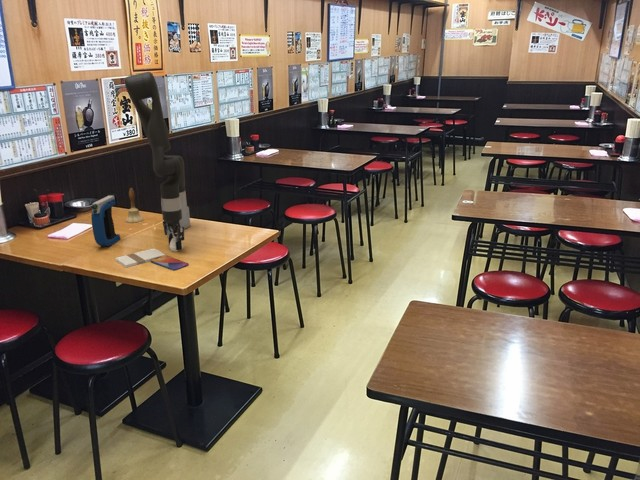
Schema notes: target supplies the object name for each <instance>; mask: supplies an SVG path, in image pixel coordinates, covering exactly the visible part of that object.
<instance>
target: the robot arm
mask: <svg viewBox="0 0 640 480" xmlns="http://www.w3.org/2000/svg"><path fill="white" fill-rule="evenodd" d="M124 78H125V79H124V85H125V89H126V91H127V94H128V96H129V99H130V100H131V102H132V104H133V107H134V108H135V111H136V112H137V115H138V118H139V120H140V123H141V126H142V129H143V132H144V134H145V137H146V138H147V139H146V140H147V141H148V143H149V146H150V148H151V150H152V151H151V152H152V170H153V172H154V174H155V175H156V176H157V177H159V178H166V177H167V179H166V180H165V181H163V182H162V183H161V184H160V186H159V188H160V205H161V216H162V225H163V232H164V235H165V236H166V237H167V238H168V246H170V242H171V240H172V238H175V241H176V250H180V251H182V250H183V249H182V243H183V242H182V241H185V229H188V228H190V227H191V218H190V217H191V216H190V206H188V203H187V194H186V192H187V191H186V177H185V175H186V174H185V172H186V171H185V161H184V159H183V156H181V155H166V154H165V153H166V152H169V151H170V150H171V148H172V147H171V146H172V145H171V143H170V139H169V137H170V131H169V128H168V125H167V122H166V120H165V118H164V114H163V113H164V112H163V107H162V101H161V97H160V93H159V89H158V84H157V81H156V77H155V76H154V75H153V73H152V72H150V71H145V72H141V73H137V74H132V75H129V76H126V77H124ZM145 99H151V102H152V104H151V105H152V108H150V107H149V106H148V105H147V104H146V103H145V102H144V101H143V100H145ZM181 242H182V243H181ZM181 249H182V250H181Z"/></svg>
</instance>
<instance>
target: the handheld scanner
mask: <svg viewBox="0 0 640 480" xmlns="http://www.w3.org/2000/svg"><path fill="white" fill-rule="evenodd" d="M115 205H119V202H118V197H117V194H114V193H107V194H106V196H105V197H103V198H100V199H99V200H97V201H94V202H93V203H92V206H91V209H92V210H91V216H90V217H91V225H92V226H91V227H92V228H91V229H92V232H93V238H94V241H95V243H96V244H97V245H98V246H100V247H112V246H113V245H115V244H116V243H117V242H119V241H120V240H121V235H120V234H117V233H116V230H115V224H114V219H113V215H112V214H113V213H112V211H113V210H112V209H113V208H112V207H114V206H115Z"/></svg>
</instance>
